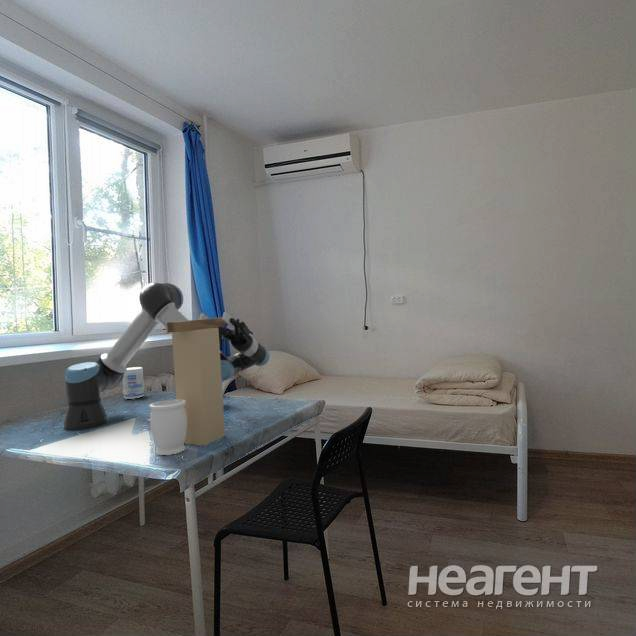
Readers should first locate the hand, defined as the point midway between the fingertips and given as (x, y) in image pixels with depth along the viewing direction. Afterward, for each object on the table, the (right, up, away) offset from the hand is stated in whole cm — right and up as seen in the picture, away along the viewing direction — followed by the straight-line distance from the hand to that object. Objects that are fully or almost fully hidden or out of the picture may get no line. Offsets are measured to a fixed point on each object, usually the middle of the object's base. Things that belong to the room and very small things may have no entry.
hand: (212, 316), depth 163 cm
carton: (-2, -40, -7) cm, 41 cm away
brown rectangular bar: (-3, -4, -6) cm, 8 cm away
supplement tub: (-54, -40, +72) cm, 98 cm away
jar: (-8, -41, -18) cm, 46 cm away
